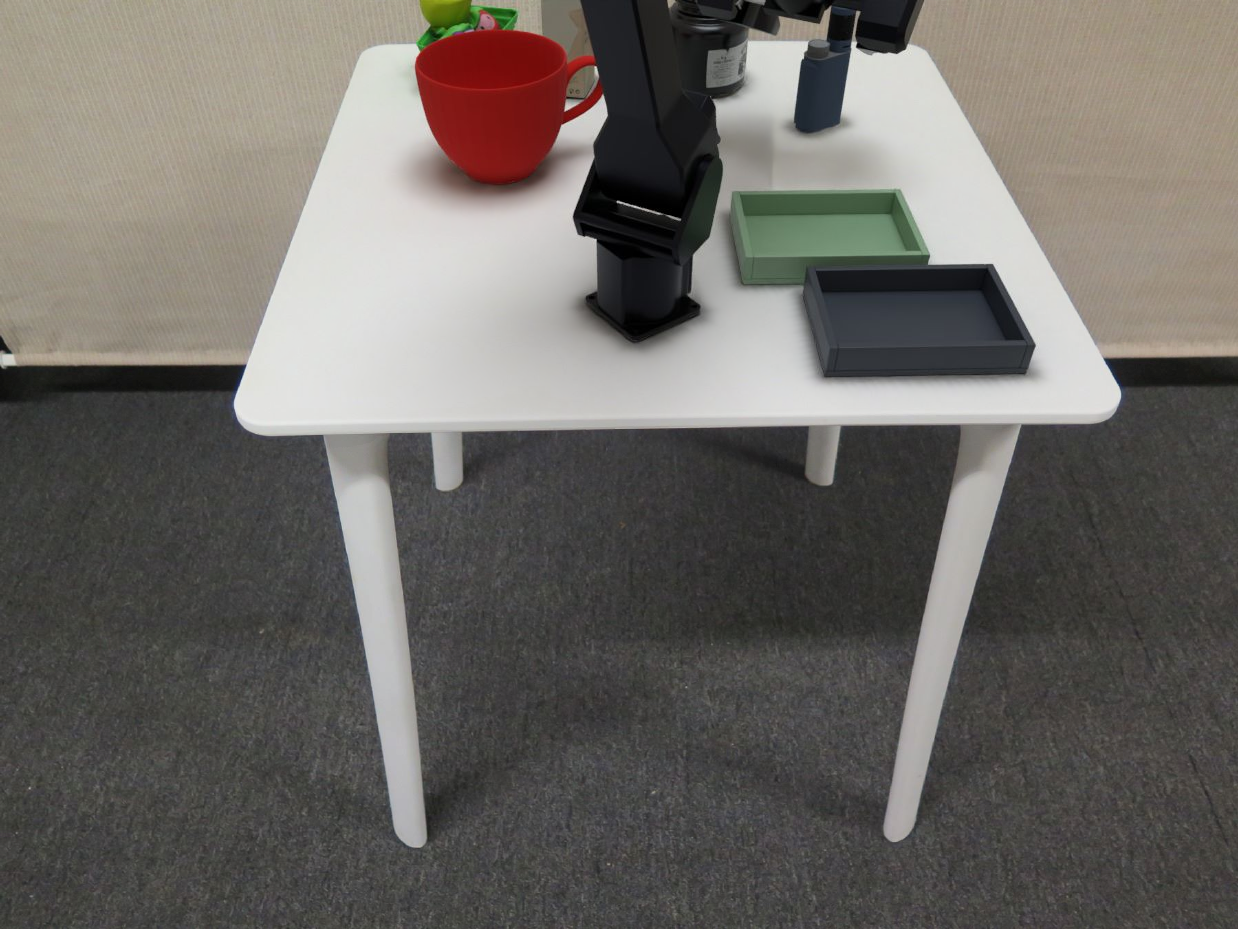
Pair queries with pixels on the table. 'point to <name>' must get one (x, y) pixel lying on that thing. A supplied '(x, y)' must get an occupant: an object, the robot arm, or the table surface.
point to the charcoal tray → (915, 320)
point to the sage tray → (821, 232)
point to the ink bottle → (707, 50)
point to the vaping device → (825, 75)
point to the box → (569, 39)
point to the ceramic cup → (498, 99)
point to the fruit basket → (461, 19)
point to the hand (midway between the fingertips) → (823, 39)
